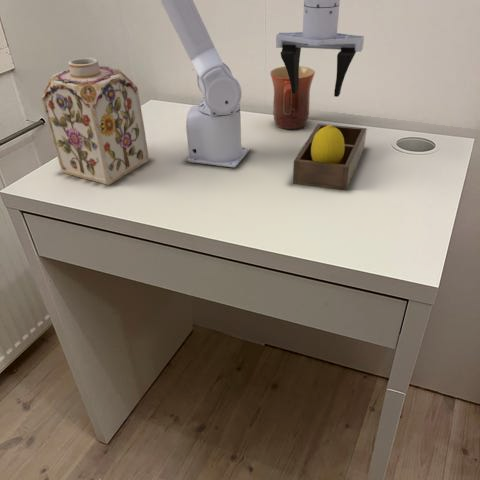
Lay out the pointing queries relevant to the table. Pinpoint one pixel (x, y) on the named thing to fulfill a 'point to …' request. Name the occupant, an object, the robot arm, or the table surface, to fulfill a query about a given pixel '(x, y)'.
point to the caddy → (330, 172)
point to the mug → (291, 98)
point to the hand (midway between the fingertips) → (315, 93)
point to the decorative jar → (95, 121)
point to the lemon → (328, 145)
